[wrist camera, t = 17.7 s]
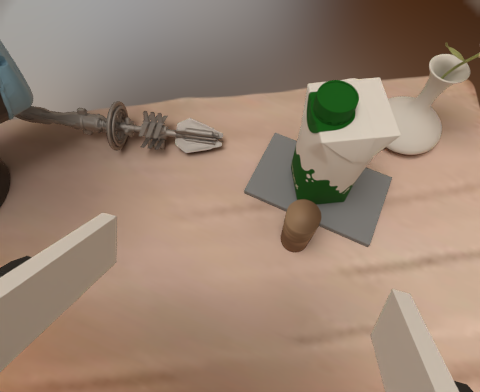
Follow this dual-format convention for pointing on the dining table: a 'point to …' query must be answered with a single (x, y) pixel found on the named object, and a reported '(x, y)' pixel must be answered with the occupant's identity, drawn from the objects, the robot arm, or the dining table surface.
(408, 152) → the flower in vase
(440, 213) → the dining table surface
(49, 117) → the spaceship
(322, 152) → the soya milk
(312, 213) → the wooden pepper mill
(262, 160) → the slate mat
